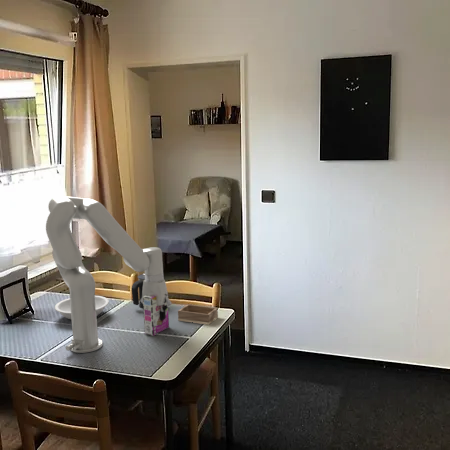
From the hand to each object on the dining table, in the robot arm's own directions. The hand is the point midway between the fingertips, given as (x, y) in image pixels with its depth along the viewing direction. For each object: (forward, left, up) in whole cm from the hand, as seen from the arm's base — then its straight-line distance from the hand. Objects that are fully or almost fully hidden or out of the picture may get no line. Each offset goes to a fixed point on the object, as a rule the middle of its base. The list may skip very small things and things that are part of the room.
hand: (156, 318), depth 224 cm
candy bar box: (0, 0, -6) cm, 6 cm away
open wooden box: (+18, -10, -5) cm, 21 cm away
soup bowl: (+2, +41, -6) cm, 41 cm away
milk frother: (+24, +18, -6) cm, 30 cm away
